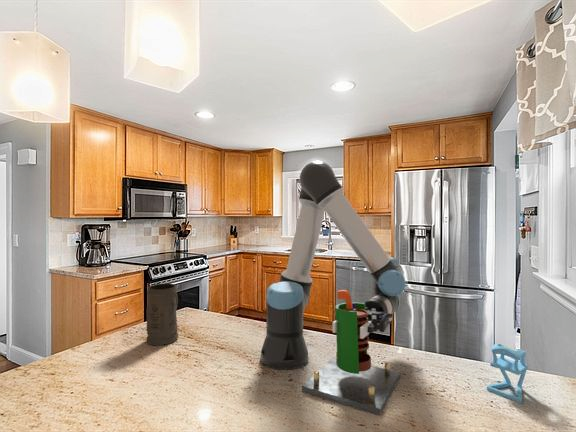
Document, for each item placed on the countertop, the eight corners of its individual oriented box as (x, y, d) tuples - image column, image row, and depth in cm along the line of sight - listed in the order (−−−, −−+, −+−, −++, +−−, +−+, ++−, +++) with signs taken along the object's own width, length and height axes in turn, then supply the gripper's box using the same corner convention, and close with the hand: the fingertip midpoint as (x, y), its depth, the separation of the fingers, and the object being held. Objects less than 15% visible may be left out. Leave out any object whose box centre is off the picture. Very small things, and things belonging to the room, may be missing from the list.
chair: (532, 392, 84) (532, 346, 84) (520, 403, 79) (520, 353, 79) (498, 380, 90) (498, 337, 91) (486, 389, 85) (486, 343, 86)
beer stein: (171, 346, 112) (171, 288, 113) (140, 346, 113) (141, 288, 113) (185, 331, 128) (186, 280, 128) (158, 331, 128) (159, 280, 128)
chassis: (301, 391, 84) (302, 374, 84) (333, 361, 102) (333, 347, 102) (380, 415, 73) (380, 395, 74) (399, 377, 92) (399, 361, 92)
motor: (372, 374, 82) (367, 294, 82) (336, 373, 84) (332, 294, 84) (370, 358, 92) (366, 287, 92) (338, 357, 94) (334, 287, 94)
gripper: (409, 327, 97) (385, 353, 78) (347, 316, 108) (313, 337, 89) (408, 302, 97) (385, 322, 78) (347, 294, 108) (313, 309, 89)
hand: (347, 330), depth 84 cm, fingers closed on motor, 7 cm apart
